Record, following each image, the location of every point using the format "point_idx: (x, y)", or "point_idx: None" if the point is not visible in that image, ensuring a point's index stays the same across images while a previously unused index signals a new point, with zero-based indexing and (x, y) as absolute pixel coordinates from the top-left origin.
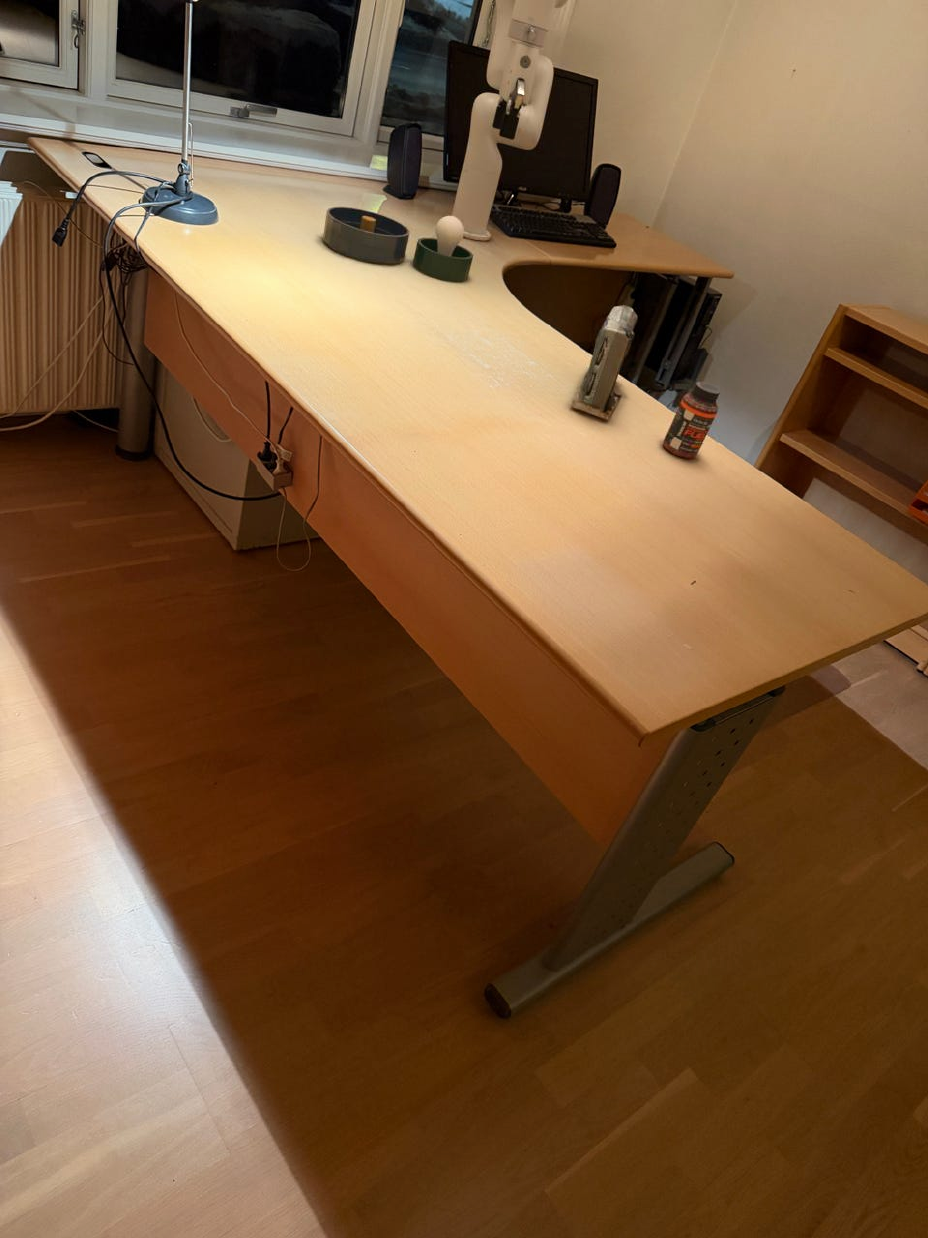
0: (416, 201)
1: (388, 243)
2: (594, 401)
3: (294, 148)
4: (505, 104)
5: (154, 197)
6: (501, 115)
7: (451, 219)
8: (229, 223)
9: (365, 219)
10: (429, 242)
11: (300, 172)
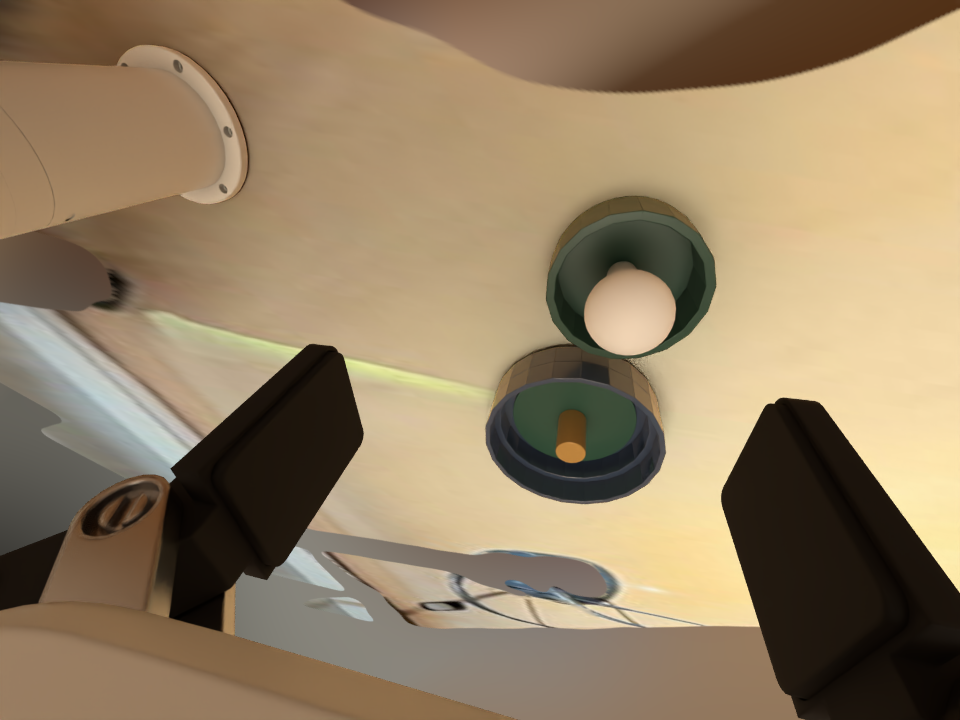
0: (88, 244)
1: (659, 418)
2: None
3: (81, 420)
4: (201, 566)
5: (532, 591)
6: (300, 481)
7: (651, 338)
8: (577, 550)
9: (582, 459)
10: (563, 317)
11: (203, 432)
